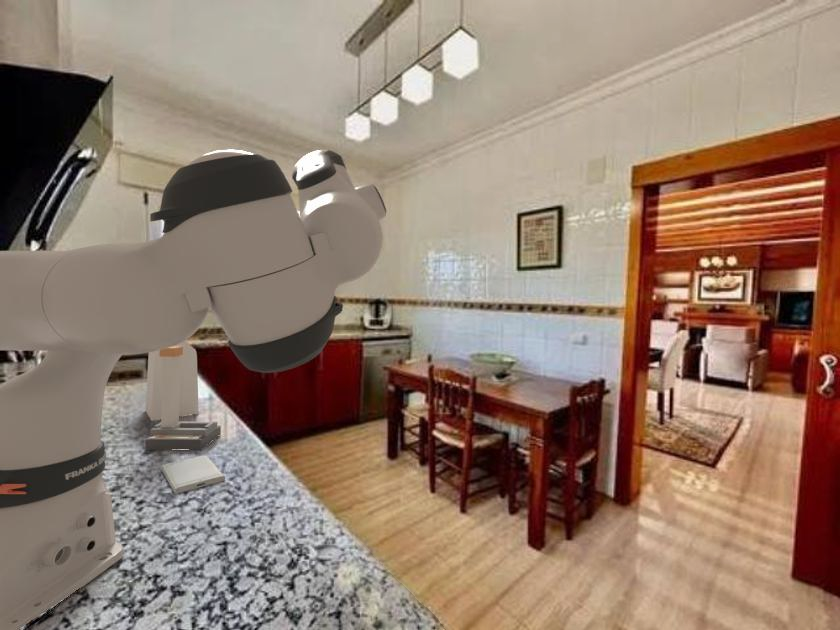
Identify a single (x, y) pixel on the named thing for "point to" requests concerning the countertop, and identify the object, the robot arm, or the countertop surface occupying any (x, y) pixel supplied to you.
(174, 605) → the countertop surface
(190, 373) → the milk
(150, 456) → the countertop surface
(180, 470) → the hard drive
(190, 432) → the switch base
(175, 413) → the grey and orange bar
